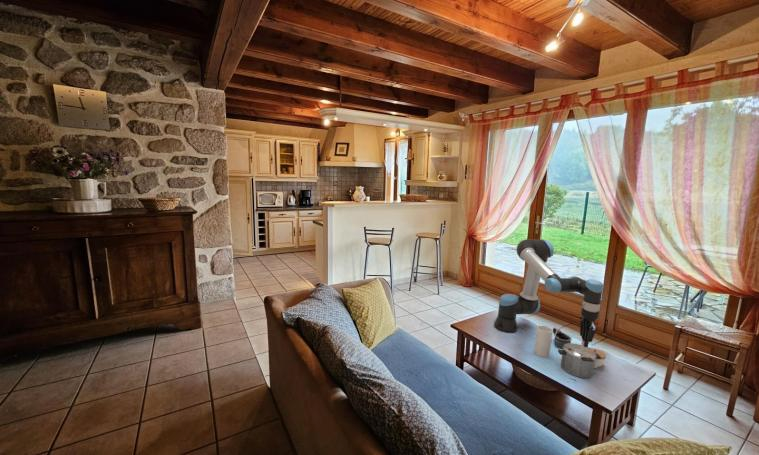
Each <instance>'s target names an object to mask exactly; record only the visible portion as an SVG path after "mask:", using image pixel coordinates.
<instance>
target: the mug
mask: <svg viewBox="0 0 759 455" xmlns="http://www.w3.org/2000/svg"><path fill="white" fill-rule="evenodd" d="M552 330H553V333H552V334H553V335H554V340H553V341H554V344H555V345H556V346H557V347H559V348H562V349H563V346H564V345H565V344H567V343H572V340H573V338H572V337H571V336H570V335H568V334H566V333H564V332H563V331H562V330H561V329H560V328H559V327H557V326H555V327H553V328H552Z"/></svg>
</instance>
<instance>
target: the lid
mask: <svg viewBox="0 0 759 455" xmlns="http://www.w3.org/2000/svg"><path fill="white" fill-rule="evenodd" d="M563 349H564V351H565V352H566V353H568V354H569V355H571V356H573V357H575V358H578V359H582V360H583V361H588V362H594V359H596V353H595V352H594V351H593V350H591V349H589V348H588V350H587V352H581V351H580V349H581V344H578V343H572V342H571V343H567V344H565V345H564V346H563V348H562V350H563Z"/></svg>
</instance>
